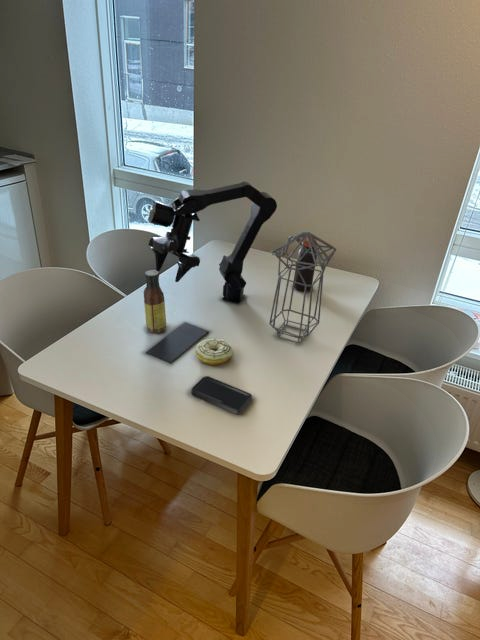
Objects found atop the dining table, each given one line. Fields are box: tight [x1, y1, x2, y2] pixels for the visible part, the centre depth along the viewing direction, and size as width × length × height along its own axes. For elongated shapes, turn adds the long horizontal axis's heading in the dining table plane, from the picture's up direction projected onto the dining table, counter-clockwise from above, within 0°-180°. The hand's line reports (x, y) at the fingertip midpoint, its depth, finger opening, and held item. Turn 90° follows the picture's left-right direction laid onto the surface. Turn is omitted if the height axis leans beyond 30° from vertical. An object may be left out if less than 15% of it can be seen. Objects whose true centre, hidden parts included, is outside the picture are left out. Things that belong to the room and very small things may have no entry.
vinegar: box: [294, 238, 318, 293], centre depth 176 cm, size 7×7×20 cm
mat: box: [145, 321, 209, 364], centre depth 146 cm, size 20×9×1 cm, turn 150°
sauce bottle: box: [143, 269, 167, 334], centre depth 146 cm, size 7×6×20 cm
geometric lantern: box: [268, 231, 337, 344], centre depth 144 cm, size 16×16×35 cm
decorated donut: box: [195, 338, 234, 366], centre depth 140 cm, size 10×11×4 cm
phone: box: [190, 375, 253, 415], centre depth 125 cm, size 8×1×15 cm
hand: (167, 276), depth 155 cm, fingers open, 9 cm apart
